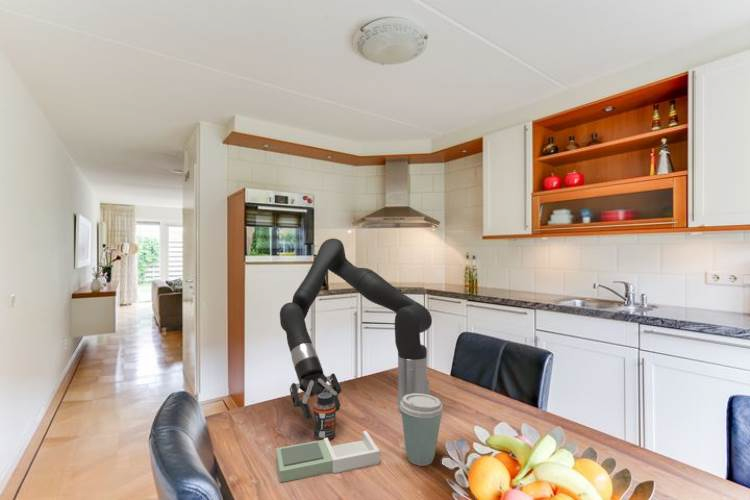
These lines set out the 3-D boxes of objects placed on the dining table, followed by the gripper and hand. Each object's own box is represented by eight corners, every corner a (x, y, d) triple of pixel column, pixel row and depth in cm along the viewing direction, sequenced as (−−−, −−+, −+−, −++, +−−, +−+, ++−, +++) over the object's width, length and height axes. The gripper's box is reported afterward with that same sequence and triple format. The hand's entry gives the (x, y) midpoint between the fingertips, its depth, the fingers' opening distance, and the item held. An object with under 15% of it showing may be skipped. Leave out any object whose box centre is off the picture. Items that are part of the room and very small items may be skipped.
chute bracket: (366, 441, 98) (366, 430, 98) (379, 463, 88) (379, 451, 88) (323, 449, 94) (323, 438, 94) (333, 473, 84) (333, 460, 84)
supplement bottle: (326, 444, 97) (326, 401, 97) (309, 438, 100) (309, 396, 100) (340, 434, 102) (339, 393, 102) (323, 428, 105) (323, 389, 105)
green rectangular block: (324, 449, 94) (324, 437, 94) (333, 471, 85) (333, 458, 85) (276, 458, 90) (276, 446, 90) (280, 482, 81) (280, 469, 81)
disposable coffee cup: (415, 442, 97) (414, 386, 97) (451, 457, 91) (451, 396, 91) (391, 460, 89) (390, 399, 89) (429, 478, 82) (429, 411, 82)
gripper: (323, 363, 117) (341, 413, 108) (280, 373, 109) (296, 427, 100) (331, 351, 113) (351, 401, 103) (286, 360, 104) (304, 416, 95)
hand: (324, 414), depth 102 cm, fingers open, 8 cm apart
